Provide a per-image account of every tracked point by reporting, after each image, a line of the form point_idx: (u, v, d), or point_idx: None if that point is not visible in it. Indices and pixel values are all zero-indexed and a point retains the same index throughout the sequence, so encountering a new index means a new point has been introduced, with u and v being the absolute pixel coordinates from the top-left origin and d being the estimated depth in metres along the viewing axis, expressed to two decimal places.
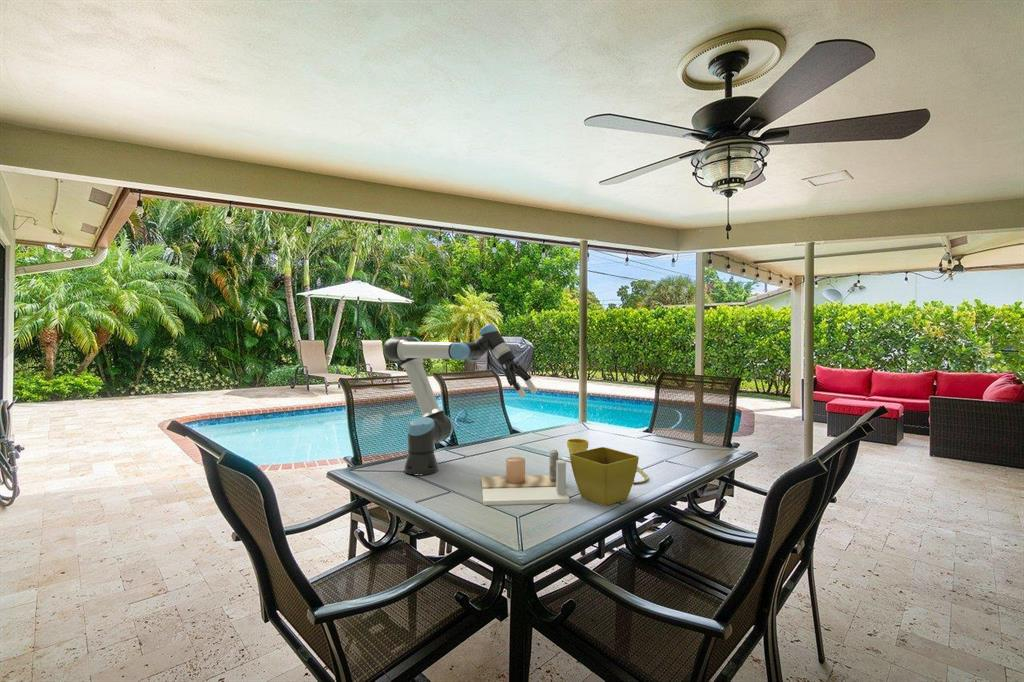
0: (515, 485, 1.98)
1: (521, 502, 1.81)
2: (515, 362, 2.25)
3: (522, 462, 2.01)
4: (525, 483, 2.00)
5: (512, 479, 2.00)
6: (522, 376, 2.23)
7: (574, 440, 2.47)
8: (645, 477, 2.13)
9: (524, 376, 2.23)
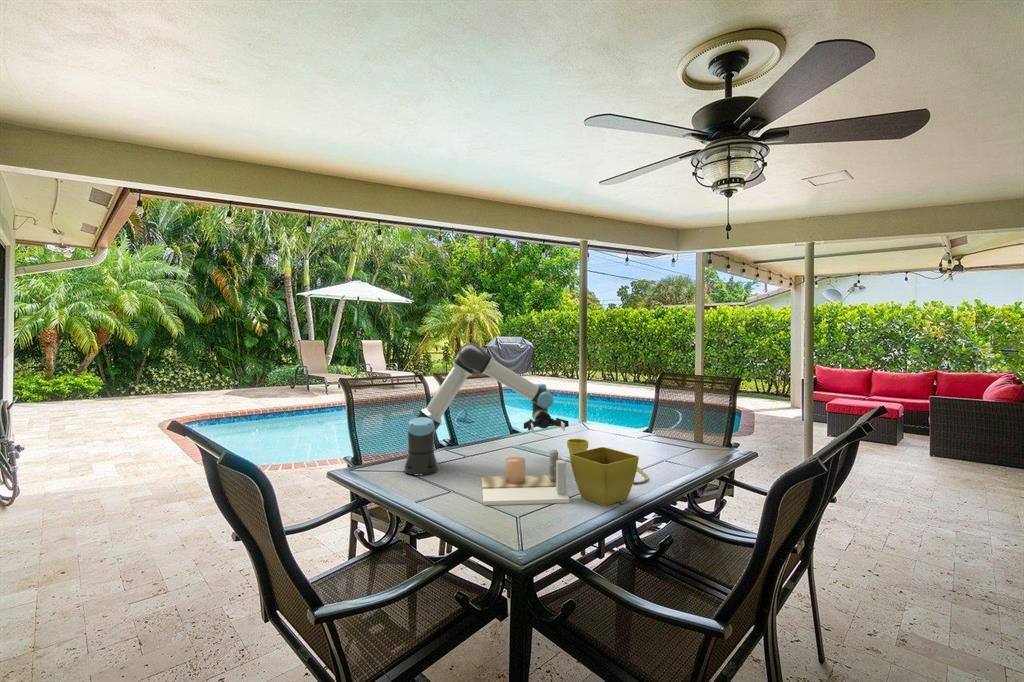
0: (515, 485, 1.98)
1: (521, 502, 1.81)
2: None
3: (522, 462, 2.01)
4: (525, 483, 2.00)
5: (512, 479, 2.00)
6: (534, 424, 2.22)
7: (574, 440, 2.47)
8: (645, 477, 2.13)
9: (533, 425, 2.21)
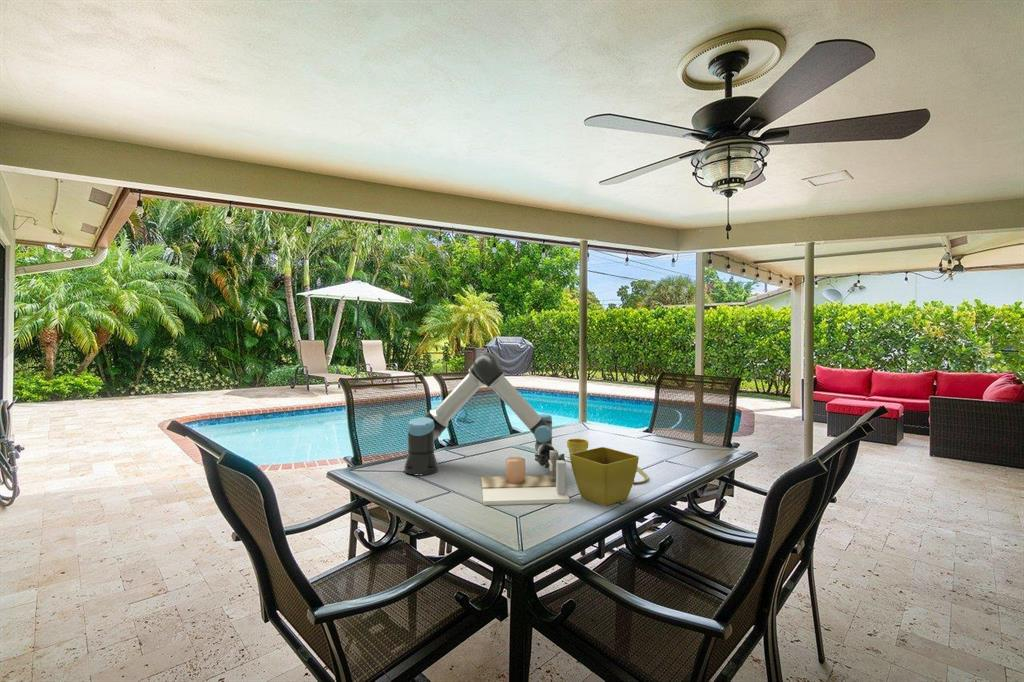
0: (515, 485, 1.98)
1: (521, 502, 1.81)
2: None
3: (522, 462, 2.01)
4: (525, 483, 2.00)
5: (512, 479, 2.00)
6: None
7: (574, 440, 2.47)
8: (645, 477, 2.13)
9: None
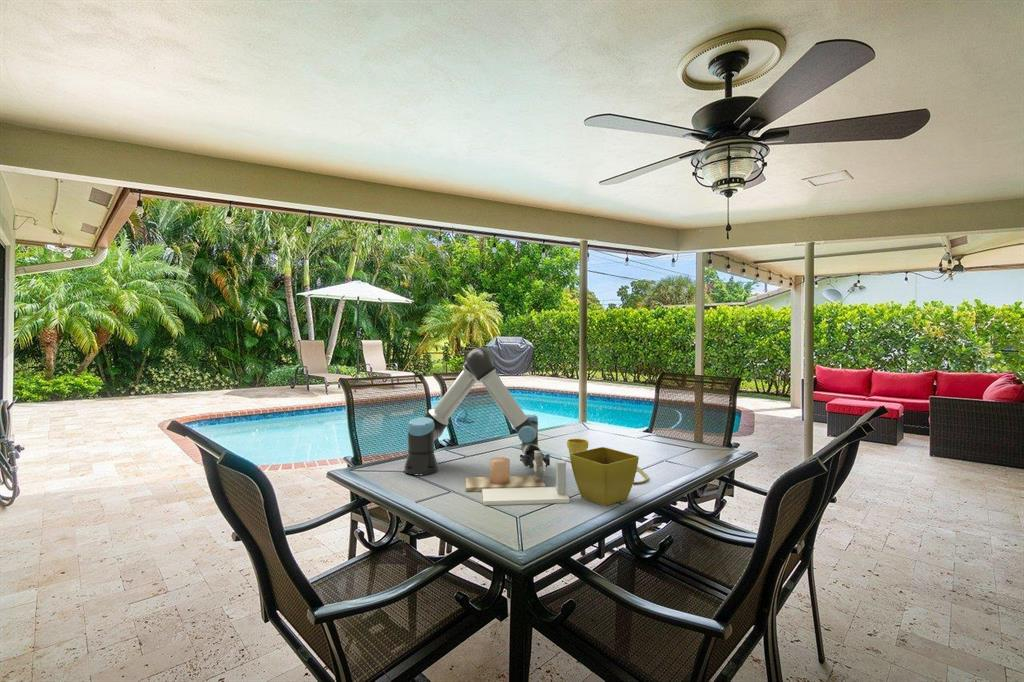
0: (499, 485, 1.97)
1: (521, 502, 1.81)
2: None
3: (506, 462, 2.00)
4: (509, 483, 2.00)
5: (496, 479, 1.99)
6: None
7: (574, 440, 2.47)
8: (645, 477, 2.13)
9: None
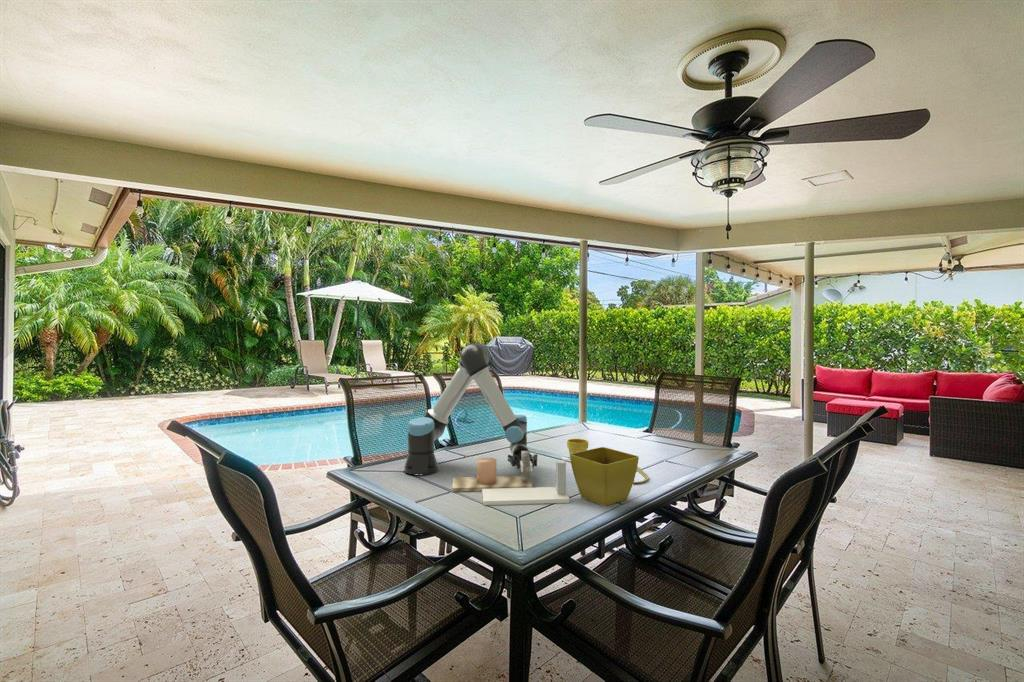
0: (485, 486, 1.97)
1: (521, 502, 1.81)
2: (508, 458, 2.15)
3: (493, 463, 2.00)
4: (496, 484, 1.99)
5: (482, 479, 1.99)
6: (520, 460, 2.08)
7: (574, 440, 2.47)
8: (645, 477, 2.13)
9: None
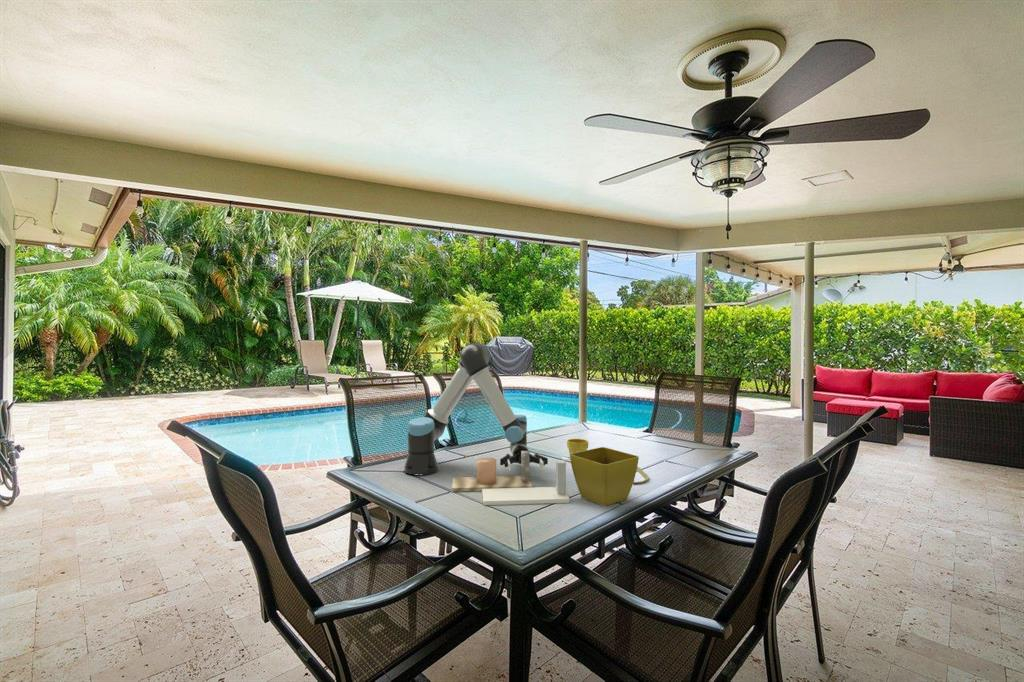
0: (485, 486, 1.97)
1: (521, 502, 1.81)
2: None
3: (493, 463, 2.00)
4: (496, 484, 1.99)
5: (482, 479, 1.99)
6: (511, 460, 2.09)
7: (574, 440, 2.47)
8: (645, 477, 2.13)
9: (510, 462, 2.09)
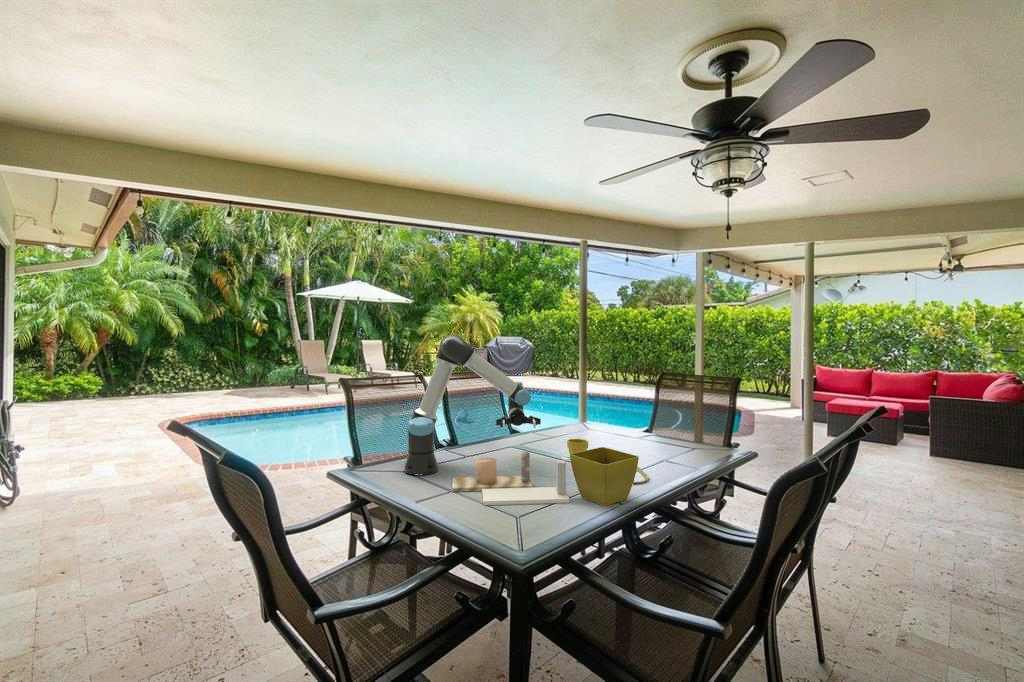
0: (485, 486, 1.97)
1: (521, 502, 1.81)
2: None
3: (493, 463, 2.00)
4: (496, 484, 1.99)
5: (482, 479, 1.99)
6: (506, 421, 2.25)
7: (574, 440, 2.47)
8: (645, 477, 2.13)
9: (505, 422, 2.24)
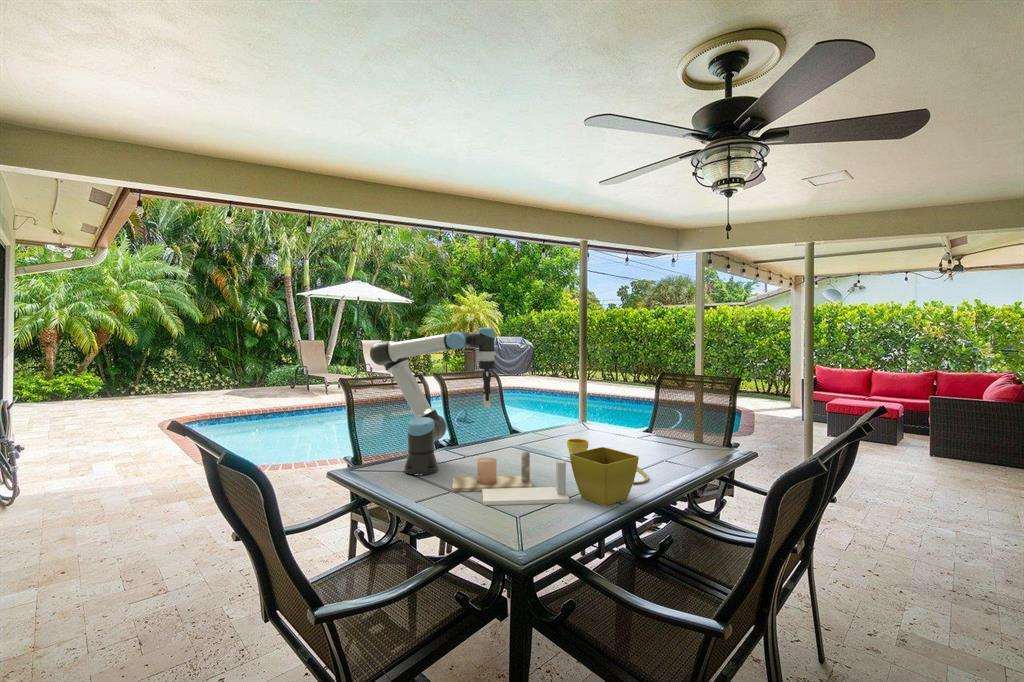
0: (485, 486, 1.97)
1: (521, 502, 1.81)
2: None
3: (493, 463, 2.00)
4: (496, 484, 1.99)
5: (483, 479, 1.99)
6: None
7: (574, 440, 2.47)
8: (645, 477, 2.13)
9: None
